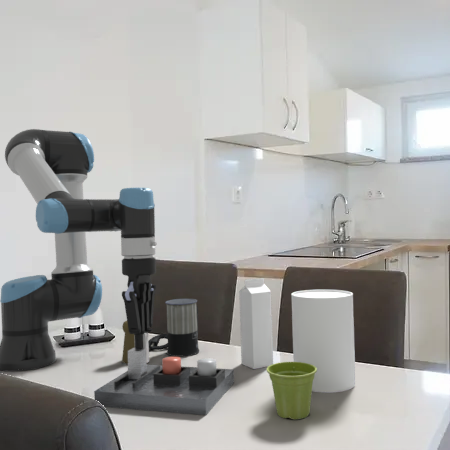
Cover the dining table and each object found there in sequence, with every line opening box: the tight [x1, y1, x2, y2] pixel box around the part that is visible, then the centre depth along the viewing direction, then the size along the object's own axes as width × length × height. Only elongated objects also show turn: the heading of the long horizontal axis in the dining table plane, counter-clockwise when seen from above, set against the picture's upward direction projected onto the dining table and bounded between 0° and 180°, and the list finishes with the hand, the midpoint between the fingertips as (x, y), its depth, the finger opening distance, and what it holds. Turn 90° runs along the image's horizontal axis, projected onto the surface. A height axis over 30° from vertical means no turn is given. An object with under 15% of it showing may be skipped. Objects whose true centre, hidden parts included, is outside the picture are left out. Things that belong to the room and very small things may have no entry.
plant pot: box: [266, 361, 317, 420], centre depth 95 cm, size 9×9×9 cm
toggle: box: [127, 348, 148, 379], centre depth 111 cm, size 3×3×6 cm
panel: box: [93, 364, 235, 416], centre depth 109 cm, size 24×20×5 cm
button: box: [162, 356, 182, 375], centre depth 109 cm, size 4×4×3 cm
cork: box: [121, 320, 135, 365], centre depth 137 cm, size 6×6×11 cm
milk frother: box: [148, 298, 200, 357], centre depth 146 cm, size 14×16×15 cm
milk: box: [238, 277, 274, 370], centre depth 129 cm, size 6×6×22 cm
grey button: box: [196, 357, 217, 377], centre depth 107 cm, size 4×4×3 cm
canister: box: [290, 289, 356, 393], centre depth 113 cm, size 14×14×20 cm
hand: (142, 362), depth 113 cm, fingers closed
